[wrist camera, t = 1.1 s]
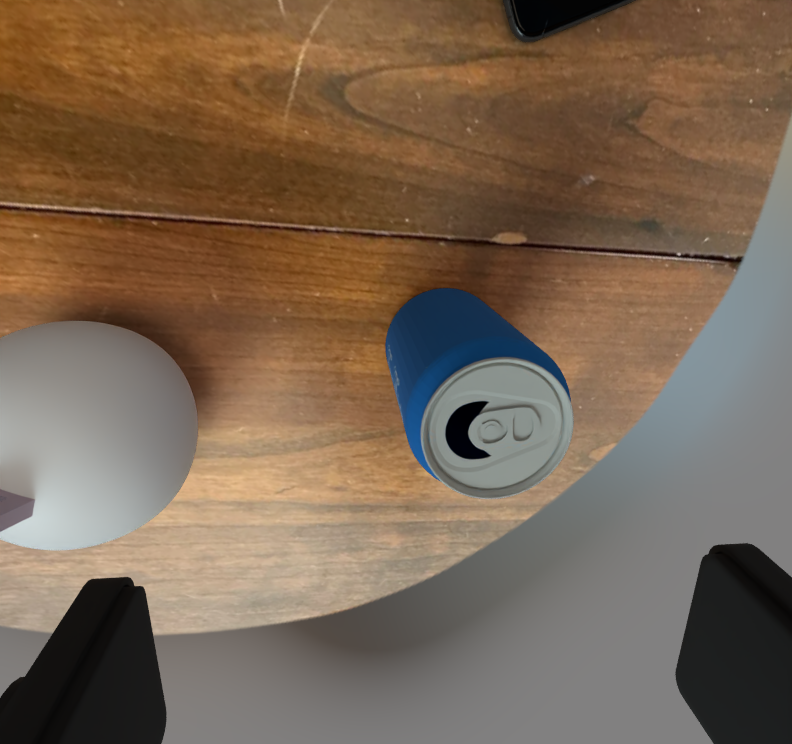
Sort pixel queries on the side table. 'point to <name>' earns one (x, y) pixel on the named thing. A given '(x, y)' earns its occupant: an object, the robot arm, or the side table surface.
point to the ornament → (89, 433)
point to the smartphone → (553, 15)
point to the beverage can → (476, 396)
